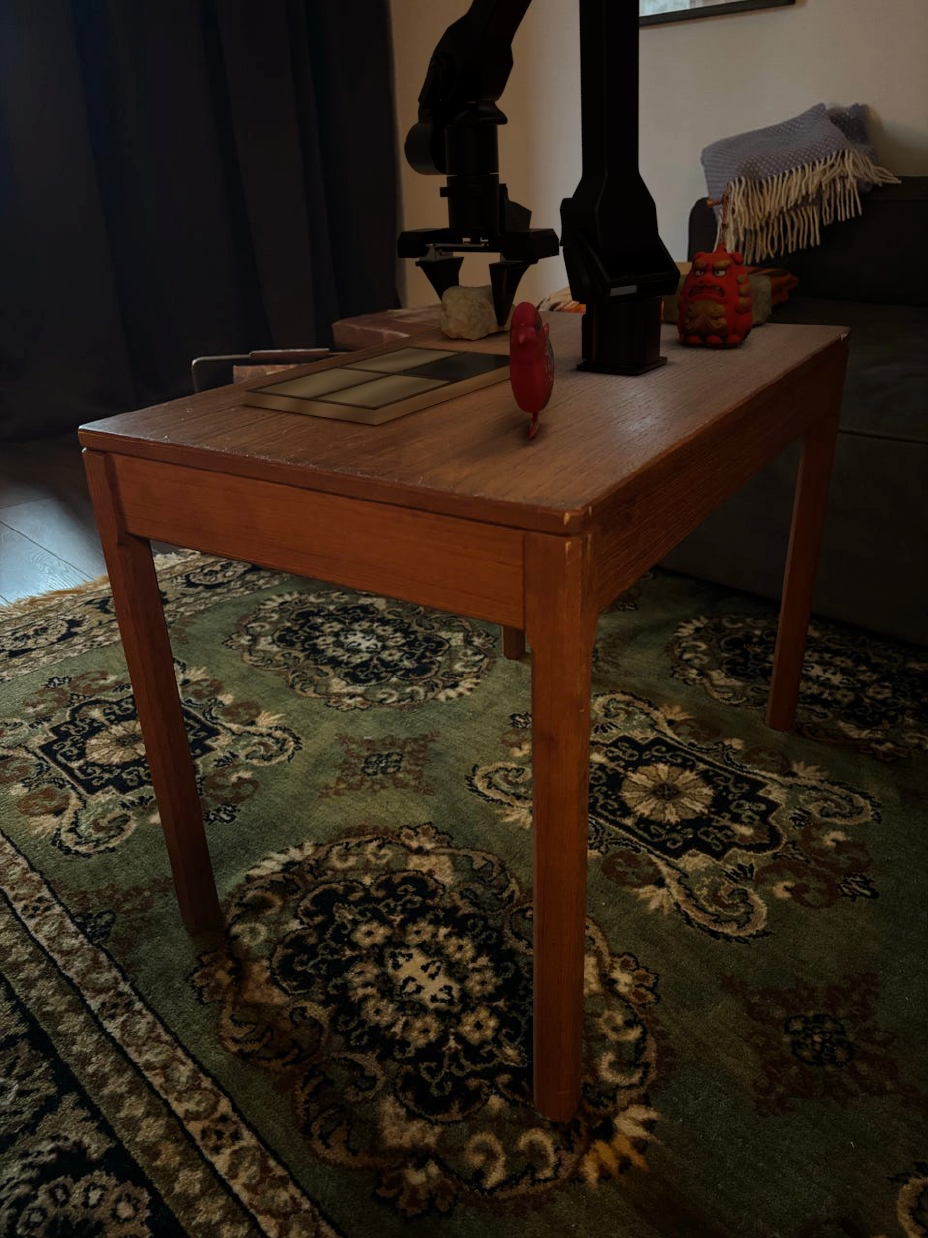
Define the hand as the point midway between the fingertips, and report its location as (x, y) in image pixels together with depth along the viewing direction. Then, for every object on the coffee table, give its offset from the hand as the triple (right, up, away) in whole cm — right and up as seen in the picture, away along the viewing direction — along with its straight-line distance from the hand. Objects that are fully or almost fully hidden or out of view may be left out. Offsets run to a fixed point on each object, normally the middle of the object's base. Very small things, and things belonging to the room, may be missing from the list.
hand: (478, 324), depth 111 cm
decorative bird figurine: (+4, -20, -38) cm, 43 cm away
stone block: (+27, 0, 0) cm, 27 cm away
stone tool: (0, -1, +1) cm, 1 cm away
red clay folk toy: (+24, -6, -12) cm, 27 cm away
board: (-8, -13, -23) cm, 28 cm away
